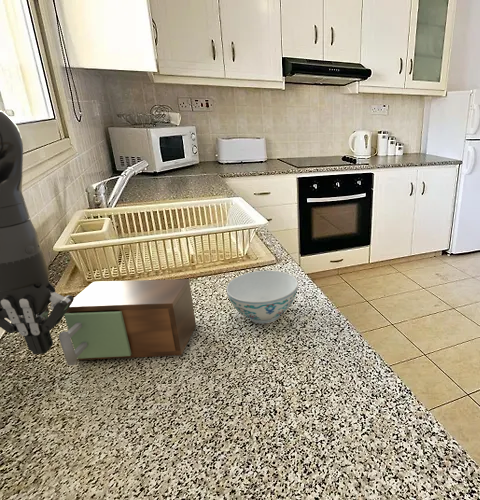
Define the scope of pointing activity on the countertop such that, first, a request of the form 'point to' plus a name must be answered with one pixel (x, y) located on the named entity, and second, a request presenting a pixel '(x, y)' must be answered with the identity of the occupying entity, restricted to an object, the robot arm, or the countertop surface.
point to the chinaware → (262, 294)
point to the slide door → (94, 336)
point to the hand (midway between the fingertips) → (42, 351)
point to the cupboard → (144, 313)
